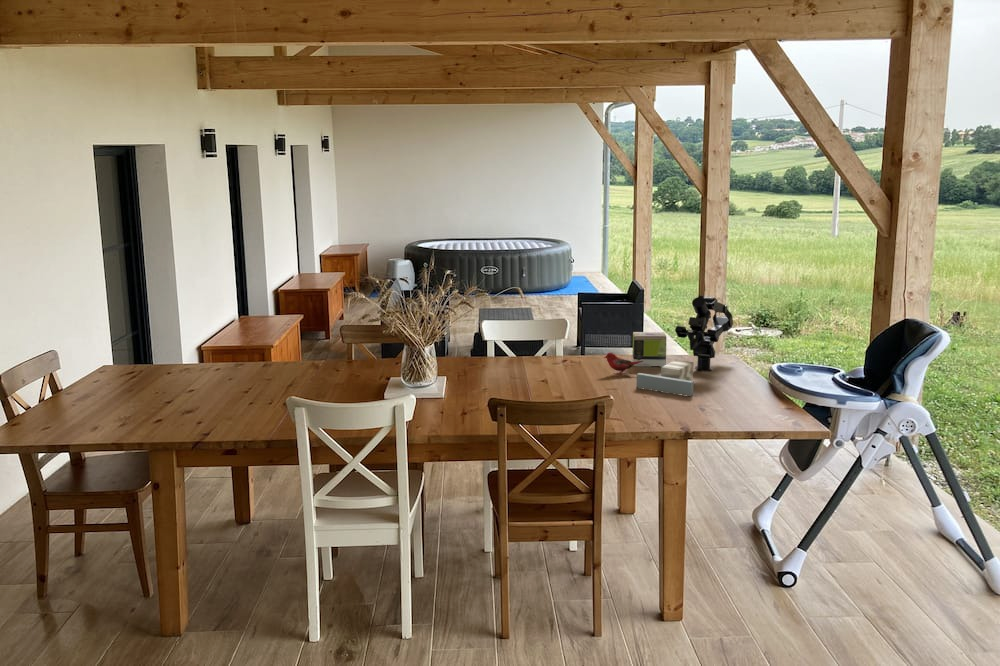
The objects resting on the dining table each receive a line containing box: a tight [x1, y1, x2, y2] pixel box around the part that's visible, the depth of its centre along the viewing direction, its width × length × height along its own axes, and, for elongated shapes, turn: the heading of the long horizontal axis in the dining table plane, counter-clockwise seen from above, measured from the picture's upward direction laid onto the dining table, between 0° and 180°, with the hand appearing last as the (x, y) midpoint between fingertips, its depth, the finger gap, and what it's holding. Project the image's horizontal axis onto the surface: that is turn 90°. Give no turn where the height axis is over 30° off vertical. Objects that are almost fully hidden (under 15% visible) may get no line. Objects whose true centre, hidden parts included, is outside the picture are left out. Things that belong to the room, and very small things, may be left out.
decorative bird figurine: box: [604, 352, 643, 375], centre depth 389 cm, size 3×18×10 cm, turn 92°
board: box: [636, 372, 694, 397], centre depth 362 cm, size 2×24×6 cm, turn 56°
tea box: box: [632, 331, 667, 368], centre depth 407 cm, size 15×10×15 cm, turn 84°
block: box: [660, 359, 694, 381], centre depth 373 cm, size 16×8×9 cm, turn 147°
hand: (691, 349), depth 383 cm, fingers closed
